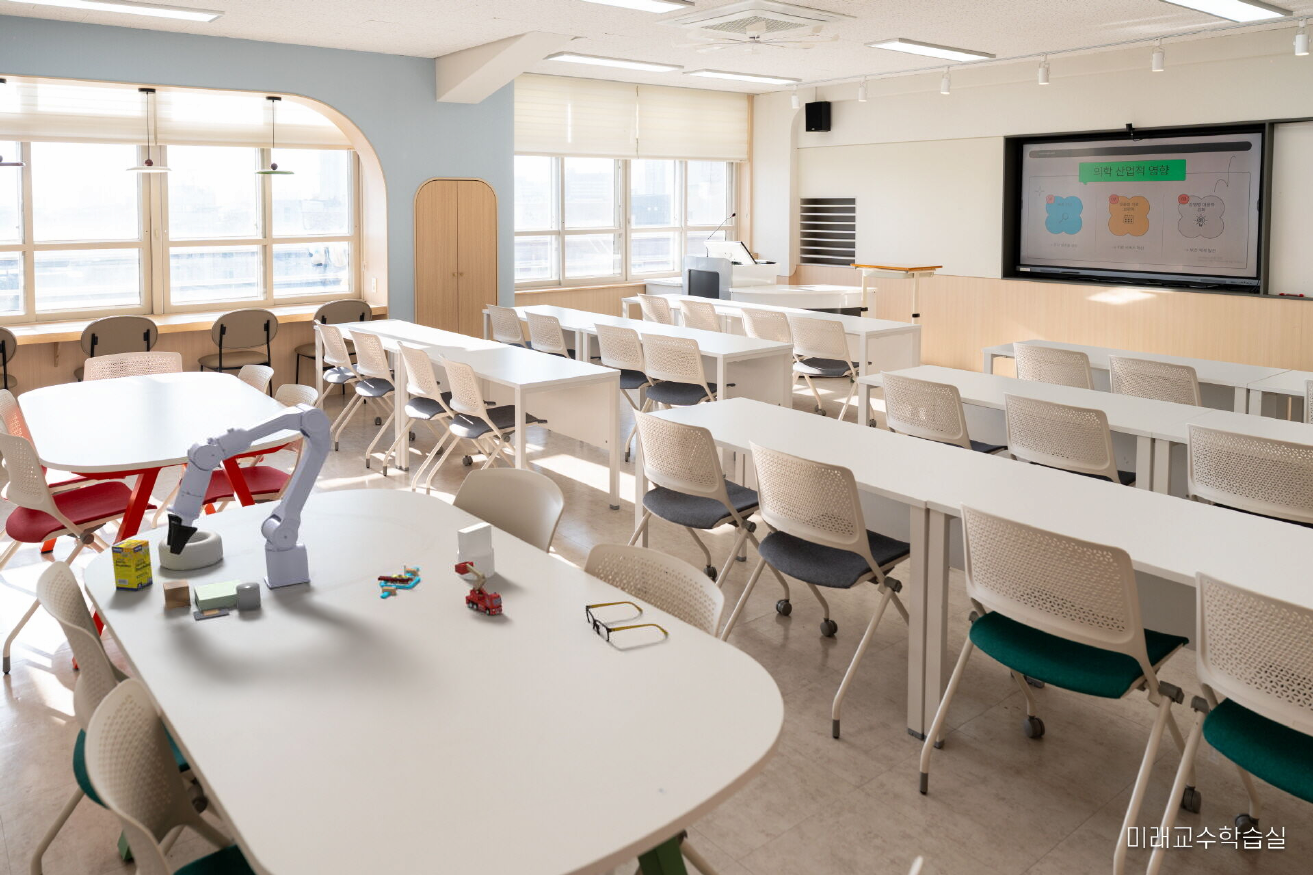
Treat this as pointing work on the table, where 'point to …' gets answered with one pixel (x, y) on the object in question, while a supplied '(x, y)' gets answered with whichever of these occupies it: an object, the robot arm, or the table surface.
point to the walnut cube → (176, 594)
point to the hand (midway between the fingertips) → (173, 549)
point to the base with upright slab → (476, 549)
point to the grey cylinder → (248, 596)
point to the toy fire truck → (480, 591)
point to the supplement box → (132, 564)
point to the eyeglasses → (616, 627)
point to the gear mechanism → (398, 581)
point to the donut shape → (193, 552)
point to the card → (211, 613)
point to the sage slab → (216, 595)
